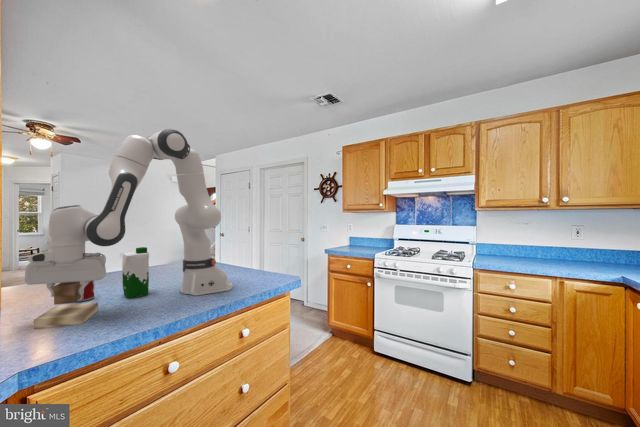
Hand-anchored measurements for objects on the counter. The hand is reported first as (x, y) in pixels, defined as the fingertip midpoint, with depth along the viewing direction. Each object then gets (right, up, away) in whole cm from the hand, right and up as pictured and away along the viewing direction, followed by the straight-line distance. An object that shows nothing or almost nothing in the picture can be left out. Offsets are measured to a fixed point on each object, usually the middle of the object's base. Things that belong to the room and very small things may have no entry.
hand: (67, 295), depth 90 cm
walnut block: (0, -2, 0) cm, 2 cm away
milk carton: (+6, -8, +25) cm, 27 cm away
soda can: (-11, -8, +19) cm, 23 cm away
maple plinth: (0, -8, 0) cm, 8 cm away
